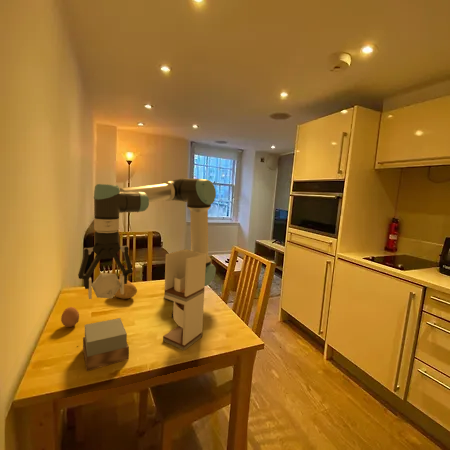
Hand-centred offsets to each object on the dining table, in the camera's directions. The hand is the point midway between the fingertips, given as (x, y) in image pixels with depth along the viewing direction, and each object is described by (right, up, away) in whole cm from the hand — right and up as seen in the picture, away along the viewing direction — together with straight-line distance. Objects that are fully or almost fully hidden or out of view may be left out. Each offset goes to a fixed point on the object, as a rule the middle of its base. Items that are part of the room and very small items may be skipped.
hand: (106, 295), depth 90 cm
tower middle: (-1, -17, +2) cm, 17 cm away
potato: (-13, -15, +49) cm, 53 cm away
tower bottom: (-2, -22, +3) cm, 22 cm away
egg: (-24, -18, +19) cm, 35 cm away
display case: (+24, -22, +15) cm, 36 cm away
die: (0, -1, 0) cm, 1 cm away
